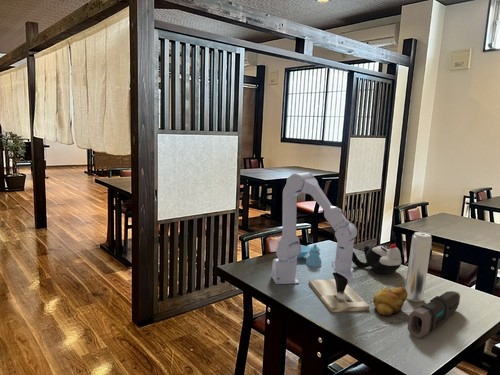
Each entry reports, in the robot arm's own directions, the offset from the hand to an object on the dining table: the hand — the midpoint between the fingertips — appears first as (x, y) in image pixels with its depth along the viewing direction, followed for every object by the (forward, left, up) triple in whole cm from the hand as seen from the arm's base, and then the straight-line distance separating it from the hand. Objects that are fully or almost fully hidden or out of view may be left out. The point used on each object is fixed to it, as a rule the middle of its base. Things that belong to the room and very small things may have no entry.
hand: (340, 292), depth 130 cm
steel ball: (0, -2, 0) cm, 2 cm away
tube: (+26, -18, -3) cm, 31 cm away
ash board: (0, +2, -2) cm, 3 cm away
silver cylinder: (+29, -2, -3) cm, 29 cm away
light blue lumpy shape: (0, +38, -3) cm, 39 cm away
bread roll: (+13, -9, -3) cm, 16 cm away
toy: (+29, +25, -3) cm, 39 cm away
